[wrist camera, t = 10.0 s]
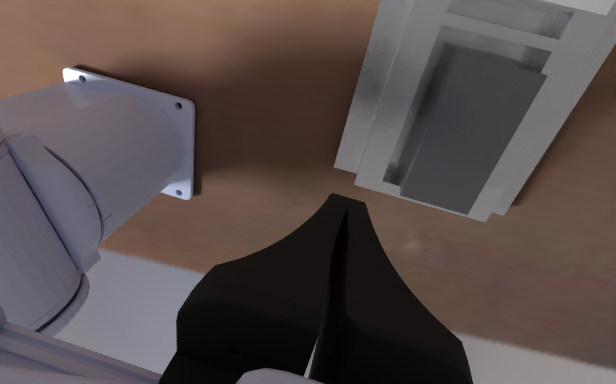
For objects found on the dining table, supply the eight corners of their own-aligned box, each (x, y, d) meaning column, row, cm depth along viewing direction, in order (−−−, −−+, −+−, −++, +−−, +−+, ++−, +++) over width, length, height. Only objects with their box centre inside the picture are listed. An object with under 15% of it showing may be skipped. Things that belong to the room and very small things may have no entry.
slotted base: (335, 160, 22) (323, 198, 18) (461, -288, 12) (498, -435, 8) (499, 207, 22) (525, 258, 17) (775, -231, 12) (994, -360, 7)
